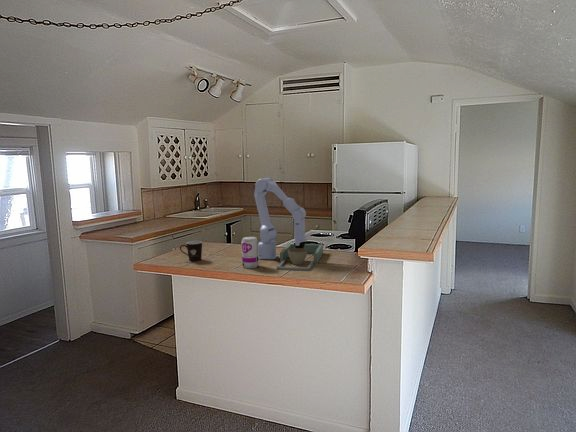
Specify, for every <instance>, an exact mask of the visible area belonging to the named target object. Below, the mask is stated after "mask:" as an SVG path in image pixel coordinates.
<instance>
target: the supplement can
mask: <svg viewBox="0 0 576 432" xmlns="http://www.w3.org/2000/svg"><path fill="white" fill-rule="evenodd" d="M240 242H241V260H242V261H241V263H242V267H243V268H245V269H255V268H257V267H258V266H259V259H258V244H259V241H258V239H257V237H256V236H244V237H242V239H241V241H240Z"/></svg>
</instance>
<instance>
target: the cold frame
mask: <svg viewBox="0 0 576 432" xmlns="http://www.w3.org/2000/svg"><path fill="white" fill-rule="evenodd" d="M294 248H296V247H295V245H294V243H288V244H287V245H285V247H284V248H282V251H280V252H279V263H281V262H282V261H283V260H285V261H286V260H287V258H288V257H289V254H288V250H289V249H294ZM304 249H306V250H307V254H312V255H313V261H314V264H318V262H319V261H320V259H321V257H322V256H323V254H324V245H323V244H319V243H318V244H315V243H314V244H312V243H311V244H310V243H307V244H306V243H305V246H304Z"/></svg>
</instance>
